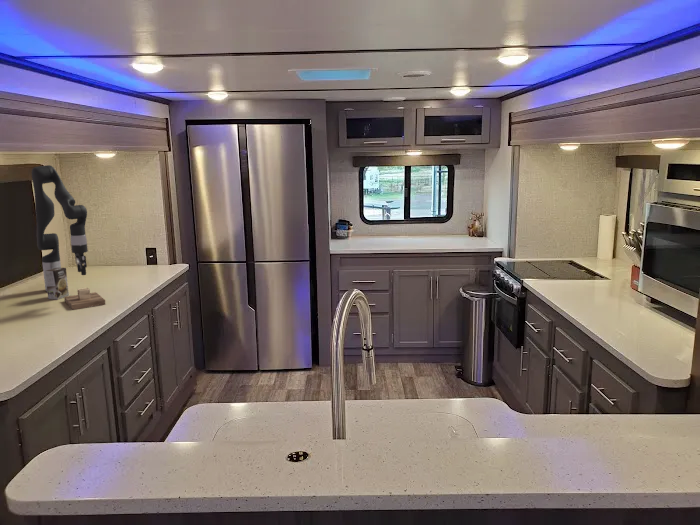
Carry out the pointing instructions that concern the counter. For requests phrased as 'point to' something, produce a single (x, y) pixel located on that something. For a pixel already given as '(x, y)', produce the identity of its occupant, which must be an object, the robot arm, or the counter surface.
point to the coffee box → (57, 283)
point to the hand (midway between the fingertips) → (82, 273)
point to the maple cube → (83, 293)
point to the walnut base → (84, 301)
